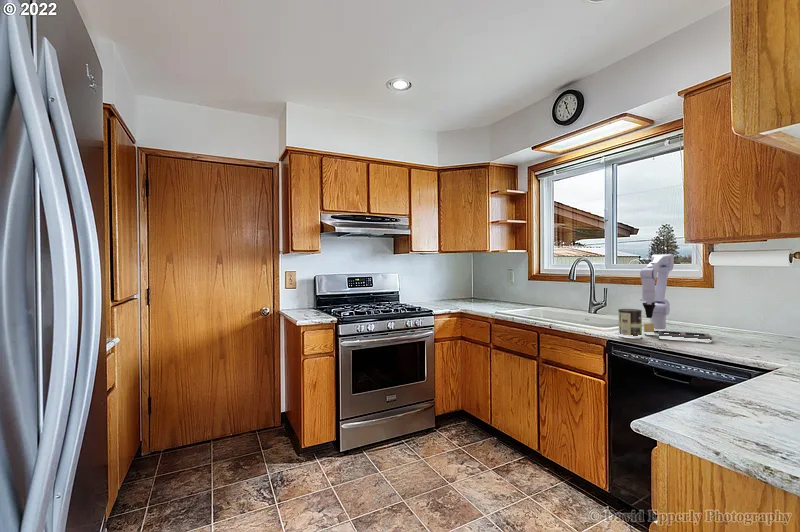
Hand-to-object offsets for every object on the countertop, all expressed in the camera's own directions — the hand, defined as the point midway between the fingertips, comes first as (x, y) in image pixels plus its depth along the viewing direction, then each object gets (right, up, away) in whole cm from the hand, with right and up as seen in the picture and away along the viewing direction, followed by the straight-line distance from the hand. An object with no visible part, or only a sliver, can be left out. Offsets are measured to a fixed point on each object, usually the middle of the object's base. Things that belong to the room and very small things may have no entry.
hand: (649, 316), depth 202 cm
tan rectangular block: (0, -10, 0) cm, 10 cm away
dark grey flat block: (+8, -9, -14) cm, 18 cm away
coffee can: (-13, -10, -6) cm, 18 cm away
